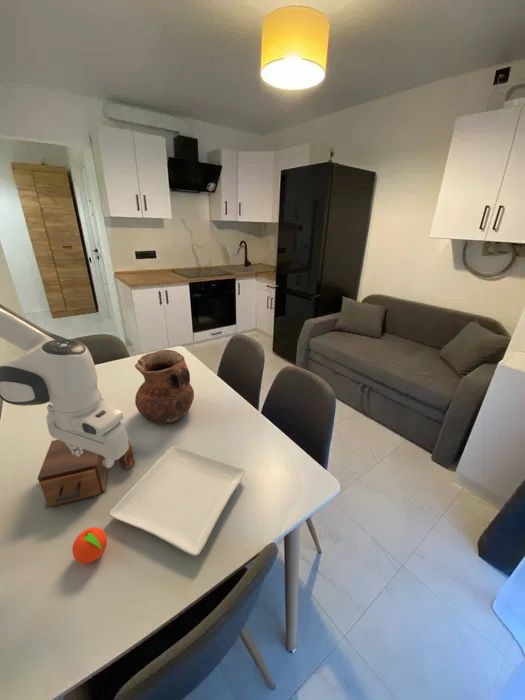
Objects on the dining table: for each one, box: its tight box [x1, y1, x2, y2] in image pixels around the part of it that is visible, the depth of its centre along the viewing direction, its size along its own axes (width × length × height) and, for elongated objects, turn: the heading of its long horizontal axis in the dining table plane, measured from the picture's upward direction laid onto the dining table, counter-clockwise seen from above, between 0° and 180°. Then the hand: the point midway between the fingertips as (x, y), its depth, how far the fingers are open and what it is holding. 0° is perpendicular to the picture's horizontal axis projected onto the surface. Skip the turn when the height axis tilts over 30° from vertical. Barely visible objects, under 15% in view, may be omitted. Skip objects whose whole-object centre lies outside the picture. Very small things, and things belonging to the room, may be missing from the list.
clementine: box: [71, 526, 108, 564], centre depth 67 cm, size 8×7×7 cm
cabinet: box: [37, 439, 108, 505], centre depth 85 cm, size 15×14×11 cm
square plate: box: [107, 445, 246, 557], centre depth 82 cm, size 27×27×4 cm
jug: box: [134, 349, 195, 425], centre depth 113 cm, size 22×21×25 cm
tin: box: [119, 439, 136, 469], centre depth 94 cm, size 15×3×8 cm, turn 40°
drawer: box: [39, 468, 101, 508], centre depth 82 cm, size 18×12×9 cm
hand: (93, 459), depth 68 cm, fingers open, 8 cm apart
